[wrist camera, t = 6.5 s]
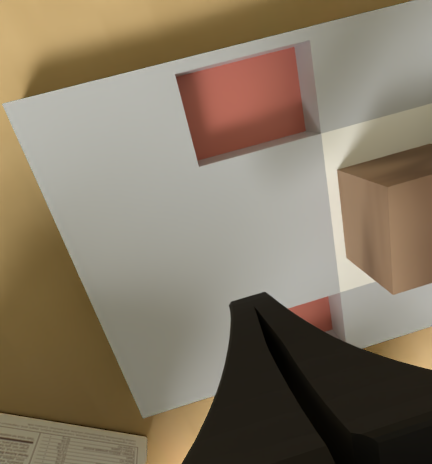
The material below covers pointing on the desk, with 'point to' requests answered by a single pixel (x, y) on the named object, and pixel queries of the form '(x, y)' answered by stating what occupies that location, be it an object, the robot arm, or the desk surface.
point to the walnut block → (390, 218)
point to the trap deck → (230, 189)
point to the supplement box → (65, 443)
